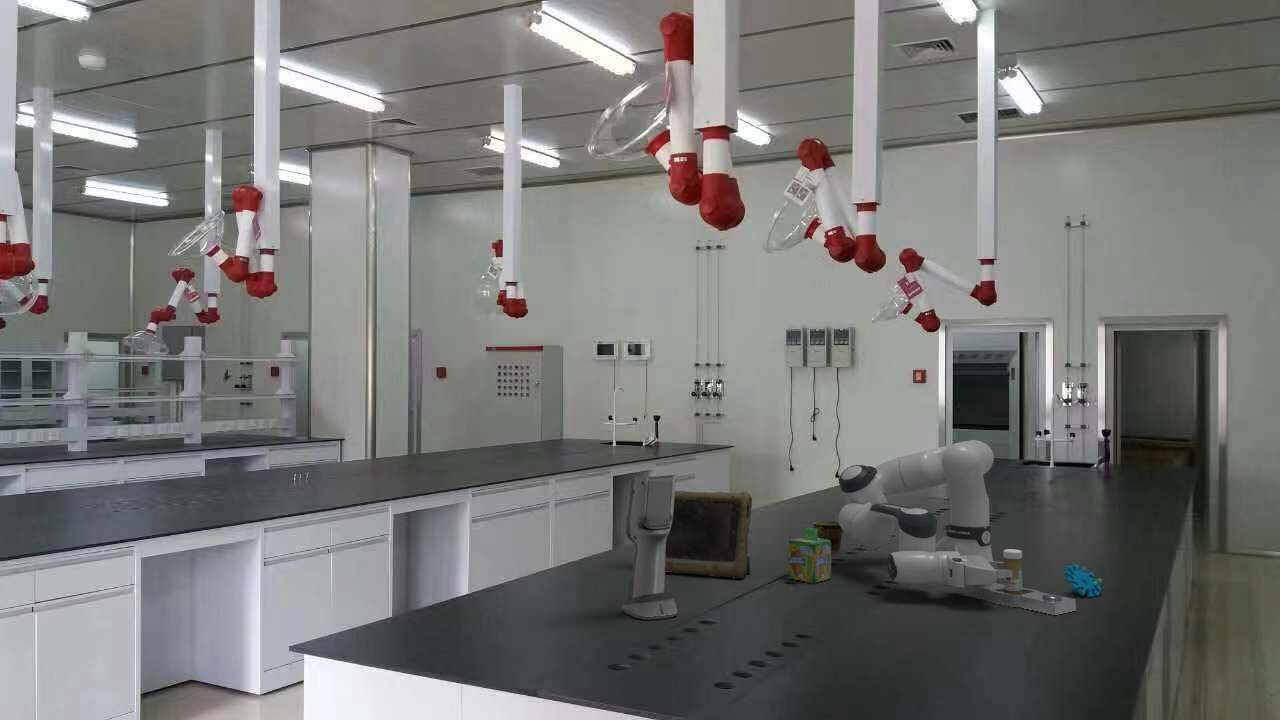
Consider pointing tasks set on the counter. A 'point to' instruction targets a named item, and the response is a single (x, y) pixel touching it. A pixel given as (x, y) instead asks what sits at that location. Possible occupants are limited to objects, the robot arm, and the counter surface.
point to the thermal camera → (650, 544)
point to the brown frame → (709, 534)
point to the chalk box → (810, 558)
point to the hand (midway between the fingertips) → (1008, 569)
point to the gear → (1082, 581)
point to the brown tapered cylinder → (830, 533)
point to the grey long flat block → (1020, 598)
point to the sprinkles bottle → (1015, 564)
